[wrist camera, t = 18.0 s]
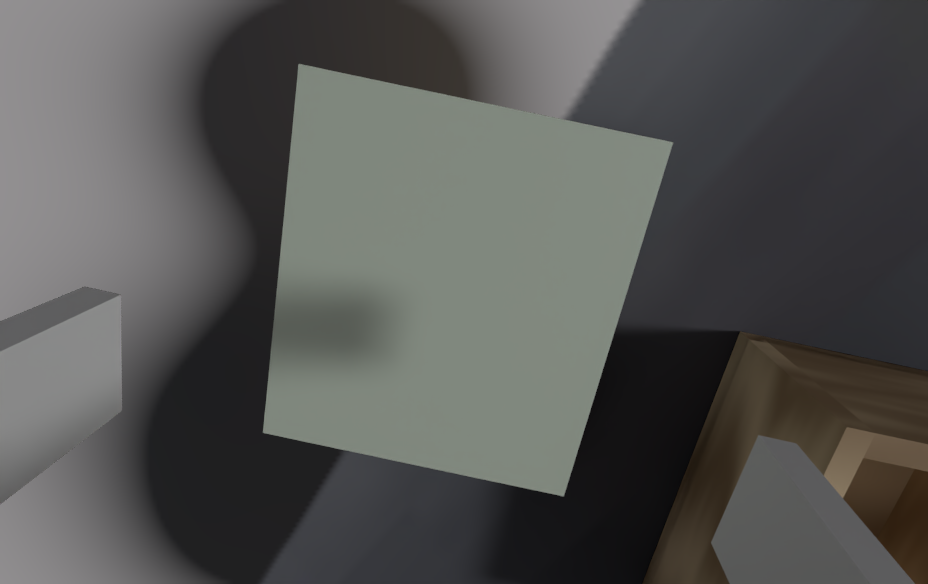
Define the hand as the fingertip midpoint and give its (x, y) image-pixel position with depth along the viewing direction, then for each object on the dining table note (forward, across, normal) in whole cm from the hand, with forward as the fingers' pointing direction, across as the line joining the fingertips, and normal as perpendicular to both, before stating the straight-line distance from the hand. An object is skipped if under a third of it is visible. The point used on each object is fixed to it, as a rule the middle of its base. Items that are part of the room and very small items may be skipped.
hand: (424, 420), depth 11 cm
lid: (+11, 0, 0) cm, 11 cm away
